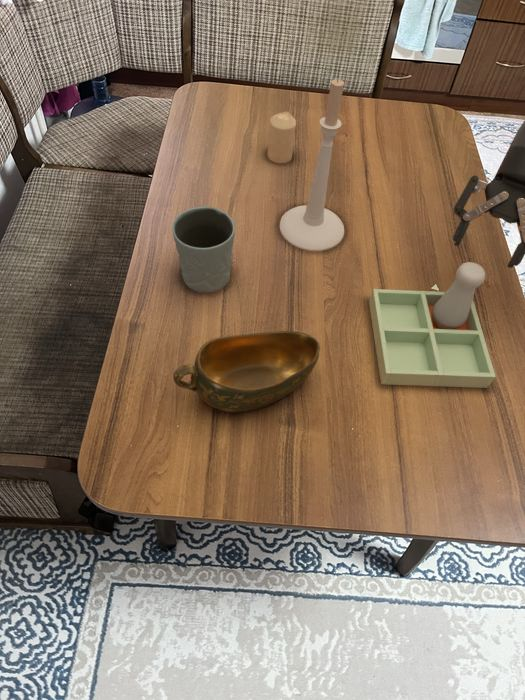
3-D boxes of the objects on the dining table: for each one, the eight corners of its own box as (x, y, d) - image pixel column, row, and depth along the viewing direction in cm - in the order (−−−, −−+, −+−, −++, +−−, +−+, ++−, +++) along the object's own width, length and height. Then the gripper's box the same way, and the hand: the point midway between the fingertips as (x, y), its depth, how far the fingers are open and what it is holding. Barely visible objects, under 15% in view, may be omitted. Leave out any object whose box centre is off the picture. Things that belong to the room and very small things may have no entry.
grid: (463, 306, 96) (471, 292, 93) (486, 388, 86) (496, 377, 83) (368, 302, 95) (373, 288, 92) (380, 385, 85) (386, 373, 82)
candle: (277, 146, 120) (281, 104, 112) (296, 156, 119) (302, 114, 110) (262, 157, 118) (265, 114, 110) (281, 167, 116) (286, 125, 108)
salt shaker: (460, 310, 94) (490, 258, 84) (464, 336, 91) (495, 285, 80) (427, 306, 94) (453, 254, 84) (430, 332, 91) (457, 280, 80)
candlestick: (334, 259, 101) (370, 110, 76) (270, 241, 103) (285, 90, 78) (350, 217, 108) (387, 69, 84) (290, 201, 110) (309, 51, 85)
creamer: (194, 345, 88) (190, 305, 79) (314, 364, 87) (323, 326, 79) (175, 413, 80) (169, 377, 72) (306, 434, 79) (316, 401, 71)
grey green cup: (240, 264, 99) (242, 213, 89) (223, 304, 93) (223, 254, 83) (189, 251, 100) (185, 200, 90) (169, 290, 94) (162, 239, 84)
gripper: (490, 131, 77) (439, 236, 81) (590, 165, 74) (532, 273, 77) (486, 145, 85) (439, 241, 88) (576, 177, 81) (524, 275, 84)
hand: (482, 256), depth 83 cm, fingers open, 8 cm apart
